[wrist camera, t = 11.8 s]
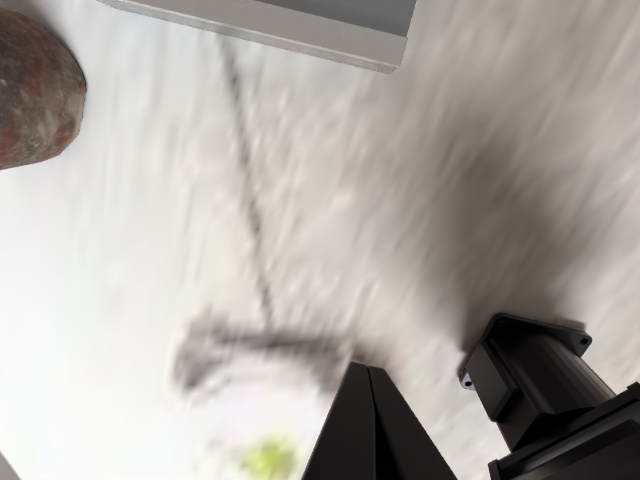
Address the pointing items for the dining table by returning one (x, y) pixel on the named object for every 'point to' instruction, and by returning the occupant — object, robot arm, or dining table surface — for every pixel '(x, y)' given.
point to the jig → (298, 25)
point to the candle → (36, 93)
